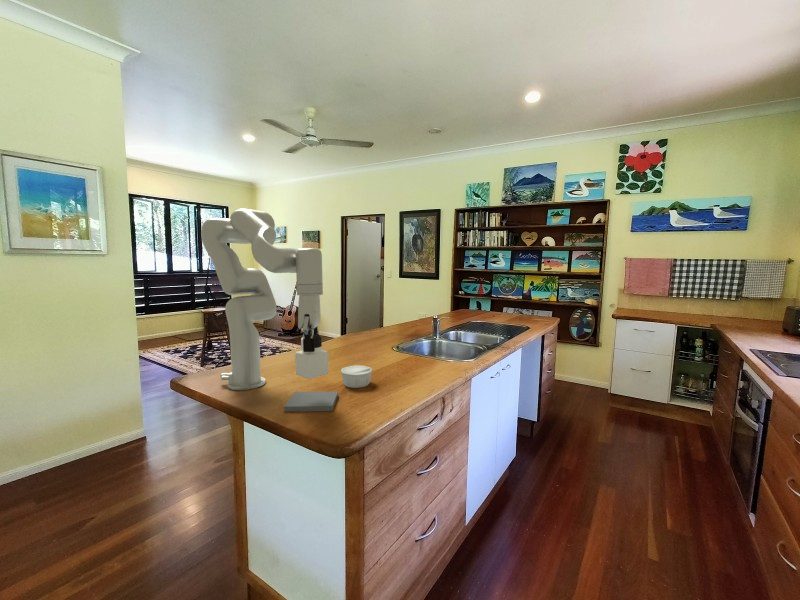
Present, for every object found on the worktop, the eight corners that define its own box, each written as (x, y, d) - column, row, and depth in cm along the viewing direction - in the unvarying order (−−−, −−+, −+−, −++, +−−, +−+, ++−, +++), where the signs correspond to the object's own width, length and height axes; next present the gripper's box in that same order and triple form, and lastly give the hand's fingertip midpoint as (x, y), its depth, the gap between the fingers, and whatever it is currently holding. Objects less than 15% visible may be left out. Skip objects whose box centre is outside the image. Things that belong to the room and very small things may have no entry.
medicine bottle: (314, 369, 114) (313, 332, 113) (329, 373, 110) (328, 335, 108) (295, 374, 109) (294, 336, 107) (309, 379, 104) (308, 339, 103)
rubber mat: (284, 411, 104) (283, 406, 104) (294, 396, 116) (294, 391, 116) (332, 410, 104) (332, 406, 104) (338, 395, 116) (338, 391, 116)
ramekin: (367, 390, 122) (366, 375, 121) (336, 388, 124) (336, 373, 124) (375, 380, 133) (375, 366, 132) (347, 378, 135) (347, 364, 134)
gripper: (304, 288, 115) (305, 343, 117) (289, 292, 98) (291, 356, 100) (327, 288, 115) (328, 342, 117) (316, 292, 98) (318, 356, 100)
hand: (311, 348), depth 108 cm, fingers closed on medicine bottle, 6 cm apart
